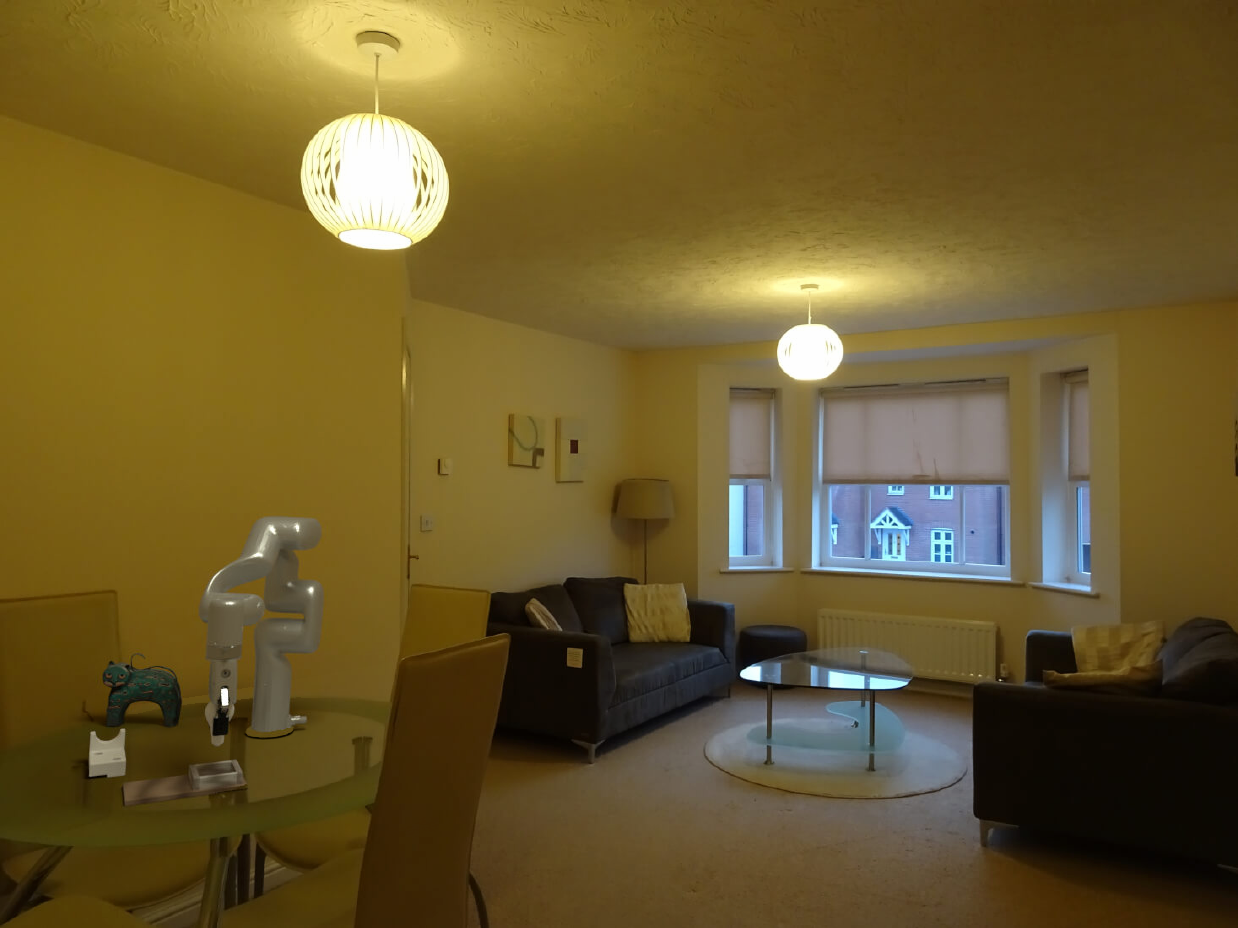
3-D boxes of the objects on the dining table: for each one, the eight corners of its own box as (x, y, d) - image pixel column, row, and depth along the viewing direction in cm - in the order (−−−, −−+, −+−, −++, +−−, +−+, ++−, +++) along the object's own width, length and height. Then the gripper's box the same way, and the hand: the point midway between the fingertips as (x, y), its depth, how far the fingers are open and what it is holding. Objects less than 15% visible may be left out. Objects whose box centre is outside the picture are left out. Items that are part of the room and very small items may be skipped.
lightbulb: (220, 750, 187) (223, 701, 188) (196, 748, 188) (199, 699, 189) (237, 743, 193) (240, 695, 194) (214, 741, 194) (217, 693, 195)
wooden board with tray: (239, 772, 199) (240, 757, 199) (247, 789, 189) (248, 773, 189) (122, 787, 186) (124, 771, 186) (124, 805, 176) (126, 789, 176)
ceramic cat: (97, 728, 227) (102, 654, 227) (108, 721, 233) (113, 649, 234) (175, 728, 230) (180, 656, 230) (183, 722, 236) (188, 651, 237)
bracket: (88, 763, 201) (90, 731, 201) (122, 759, 204) (124, 728, 205) (88, 780, 190) (91, 747, 190) (124, 776, 194) (127, 743, 194)
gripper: (247, 658, 187) (241, 739, 186) (235, 644, 201) (230, 720, 200) (210, 660, 183) (204, 743, 182) (201, 646, 197) (195, 723, 196)
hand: (218, 730), depth 191 cm, fingers closed on lightbulb, 5 cm apart
